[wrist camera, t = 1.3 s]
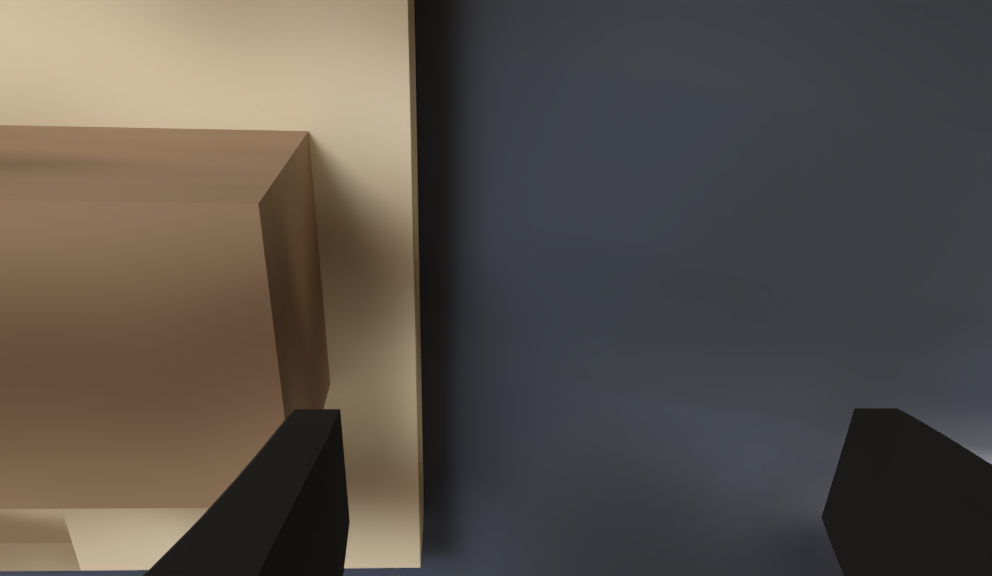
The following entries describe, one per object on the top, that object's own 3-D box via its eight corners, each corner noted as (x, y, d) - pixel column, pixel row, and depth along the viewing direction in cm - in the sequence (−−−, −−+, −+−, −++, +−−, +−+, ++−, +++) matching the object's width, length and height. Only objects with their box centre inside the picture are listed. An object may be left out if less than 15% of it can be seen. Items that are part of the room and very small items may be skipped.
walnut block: (330, 384, 17) (295, 507, 14) (66, 383, 17) (-38, 508, 13) (308, 130, 15) (258, 203, 11) (-6, 125, 14) (-162, 197, 11)
